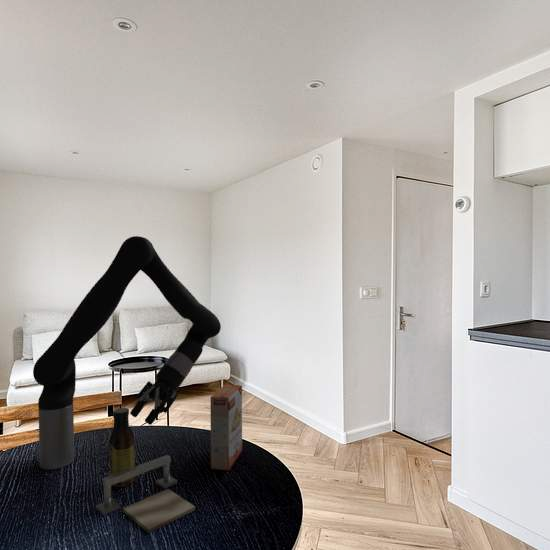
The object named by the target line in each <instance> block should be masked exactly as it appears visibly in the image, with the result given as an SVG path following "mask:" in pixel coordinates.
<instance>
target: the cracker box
mask: <svg viewBox="0 0 550 550" xmlns="http://www.w3.org/2000/svg"><path fill="white" fill-rule="evenodd" d="M242 451H243V386H242V385H241V384H225V385H224V386H222V387H221V388H220V389H219V390H217V391H216V392H214V393H213V394H212V395H211V396H210V469H211V470H220V471H230V470H231V468H232V466H233V465H234V463H235V462H236V461H237V459H238V457H240V454H241V453H242Z"/></svg>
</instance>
